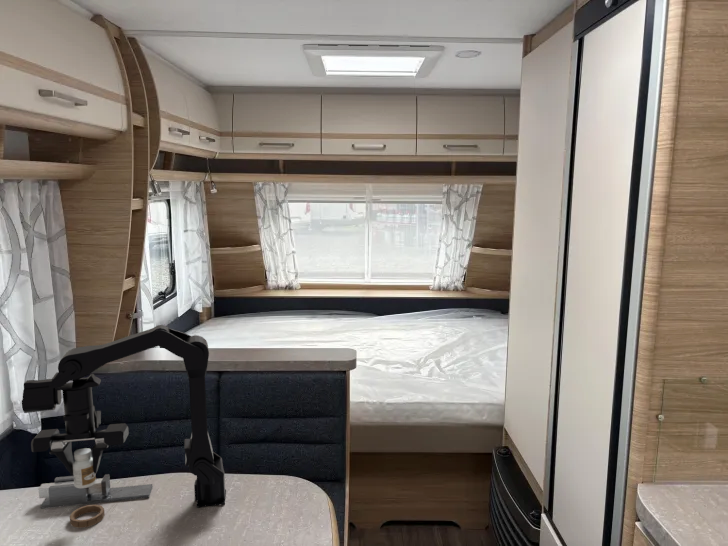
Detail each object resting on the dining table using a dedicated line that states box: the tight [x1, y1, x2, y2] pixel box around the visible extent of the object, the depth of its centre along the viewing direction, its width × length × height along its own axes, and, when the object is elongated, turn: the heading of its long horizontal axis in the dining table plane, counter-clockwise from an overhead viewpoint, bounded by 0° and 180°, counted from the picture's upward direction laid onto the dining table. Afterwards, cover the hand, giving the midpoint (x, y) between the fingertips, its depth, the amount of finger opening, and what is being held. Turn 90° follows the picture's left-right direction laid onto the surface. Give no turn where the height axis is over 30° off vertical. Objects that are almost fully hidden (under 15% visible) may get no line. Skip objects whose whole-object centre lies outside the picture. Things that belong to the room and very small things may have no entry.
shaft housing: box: [40, 475, 154, 509], centre depth 139 cm, size 24×5×5 cm, turn 101°
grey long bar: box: [38, 473, 111, 499], centre depth 138 cm, size 15×4×4 cm, turn 101°
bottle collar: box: [69, 504, 106, 529], centre depth 130 cm, size 7×7×2 cm
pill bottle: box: [72, 447, 97, 488], centre depth 128 cm, size 4×4×8 cm
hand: (84, 473), depth 128 cm, fingers closed on pill bottle, 4 cm apart
